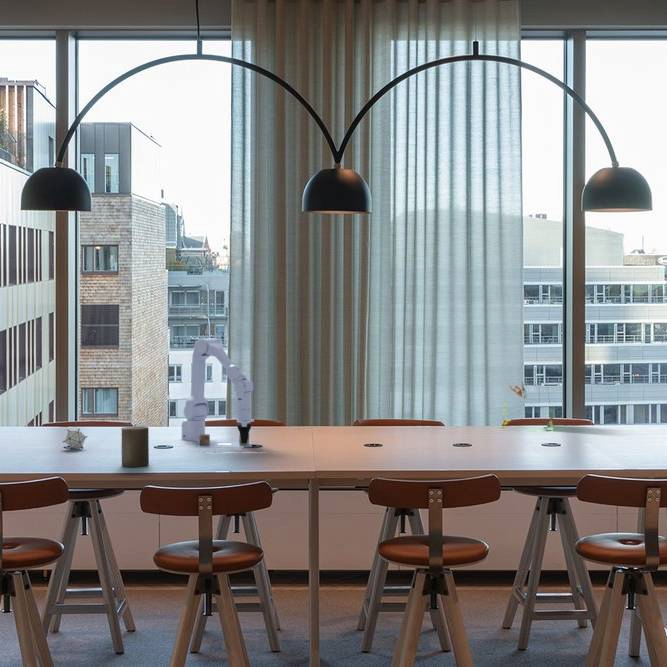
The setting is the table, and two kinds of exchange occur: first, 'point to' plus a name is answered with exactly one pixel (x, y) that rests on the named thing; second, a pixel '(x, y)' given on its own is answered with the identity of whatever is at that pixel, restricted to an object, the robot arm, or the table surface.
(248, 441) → the maple cube
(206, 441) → the walnut cube
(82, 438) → the beige spiky star ball
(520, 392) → the toy game set
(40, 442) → the table surface
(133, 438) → the pillar candle
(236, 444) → the board
